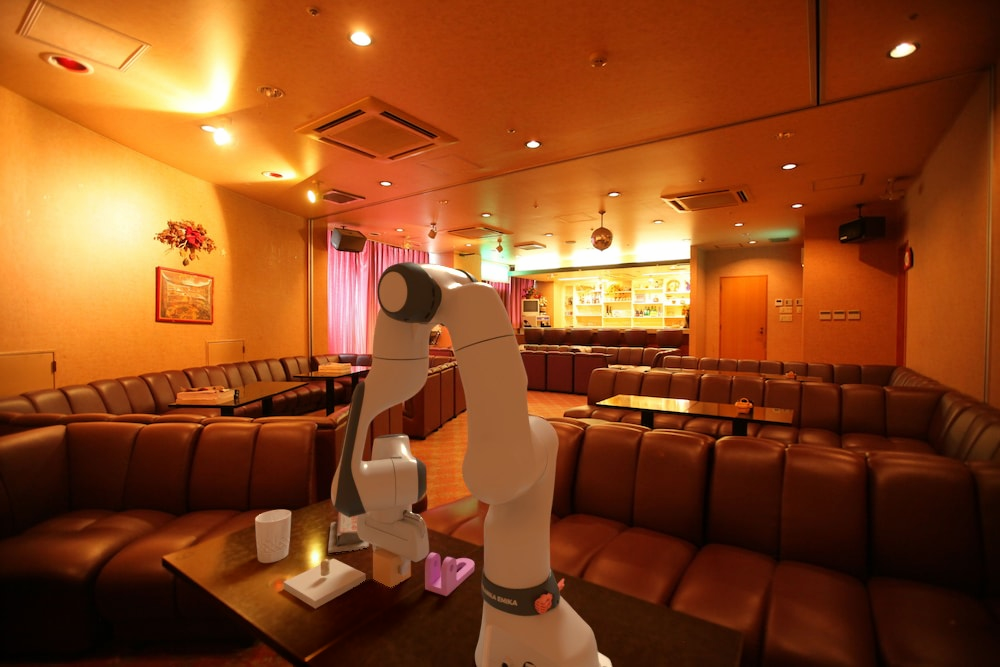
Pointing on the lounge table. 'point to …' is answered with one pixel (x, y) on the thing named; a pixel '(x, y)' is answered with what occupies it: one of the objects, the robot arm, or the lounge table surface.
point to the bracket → (446, 573)
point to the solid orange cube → (388, 568)
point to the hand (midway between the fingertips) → (391, 568)
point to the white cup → (273, 535)
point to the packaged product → (345, 535)
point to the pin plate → (324, 582)
